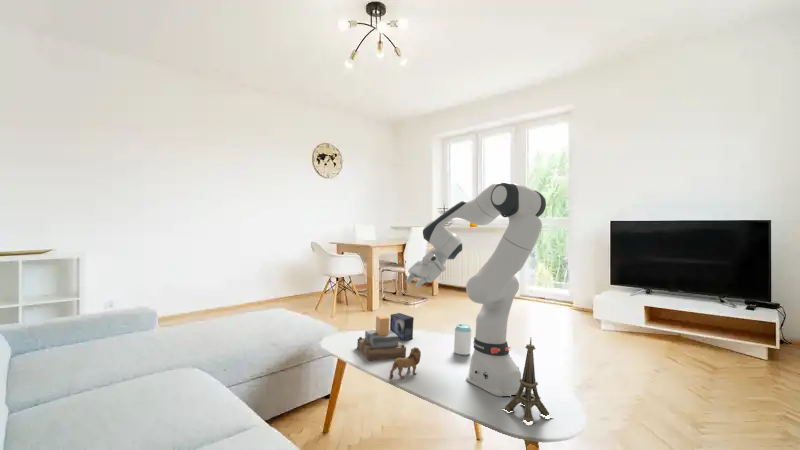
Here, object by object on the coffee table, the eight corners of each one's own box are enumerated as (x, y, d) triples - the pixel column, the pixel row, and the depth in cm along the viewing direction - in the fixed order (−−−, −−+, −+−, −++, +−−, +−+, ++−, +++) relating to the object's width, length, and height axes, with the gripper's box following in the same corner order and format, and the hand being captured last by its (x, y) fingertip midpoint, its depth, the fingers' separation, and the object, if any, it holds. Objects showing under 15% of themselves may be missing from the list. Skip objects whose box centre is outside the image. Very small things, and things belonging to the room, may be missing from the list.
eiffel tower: (553, 418, 114) (557, 334, 113) (528, 426, 108) (533, 338, 108) (525, 403, 123) (529, 325, 123) (501, 409, 117) (505, 328, 117)
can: (454, 355, 164) (455, 327, 164) (453, 349, 171) (455, 323, 171) (470, 356, 163) (472, 328, 163) (469, 351, 170) (471, 324, 170)
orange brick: (388, 334, 162) (389, 318, 162) (379, 335, 160) (380, 318, 160) (384, 331, 166) (385, 315, 166) (375, 332, 165) (376, 315, 165)
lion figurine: (412, 368, 147) (414, 344, 147) (423, 372, 144) (424, 348, 144) (385, 378, 137) (386, 352, 137) (395, 382, 133) (397, 357, 133)
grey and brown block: (405, 357, 159) (406, 337, 159) (368, 360, 153) (369, 340, 153) (391, 344, 174) (392, 327, 174) (357, 347, 167) (358, 329, 167)
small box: (388, 335, 188) (389, 314, 188) (398, 333, 192) (399, 312, 192) (403, 341, 180) (404, 318, 180) (413, 338, 185) (414, 317, 185)
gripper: (417, 255, 180) (397, 276, 177) (439, 259, 162) (417, 282, 158) (425, 264, 182) (406, 285, 178) (447, 269, 163) (426, 293, 160)
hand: (411, 284), depth 168 cm, fingers open, 8 cm apart
